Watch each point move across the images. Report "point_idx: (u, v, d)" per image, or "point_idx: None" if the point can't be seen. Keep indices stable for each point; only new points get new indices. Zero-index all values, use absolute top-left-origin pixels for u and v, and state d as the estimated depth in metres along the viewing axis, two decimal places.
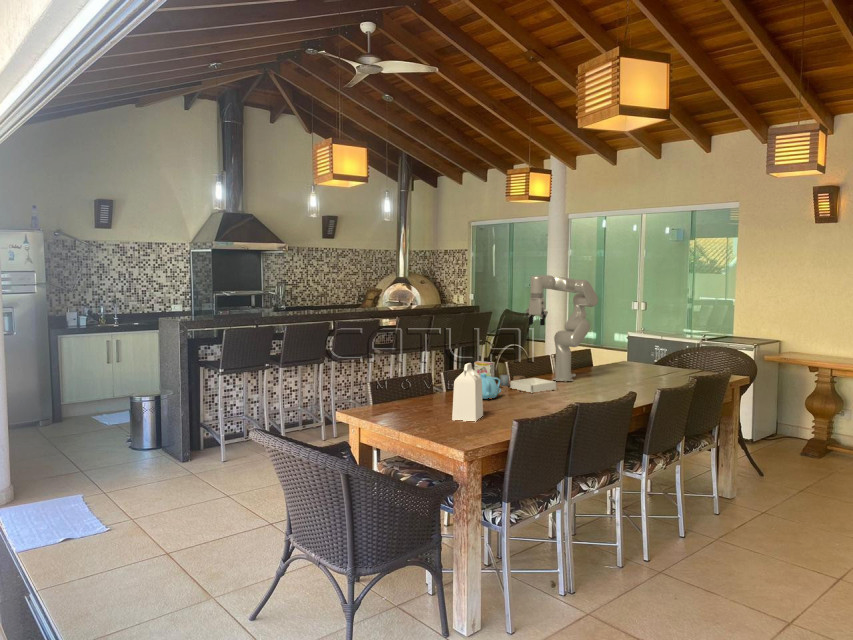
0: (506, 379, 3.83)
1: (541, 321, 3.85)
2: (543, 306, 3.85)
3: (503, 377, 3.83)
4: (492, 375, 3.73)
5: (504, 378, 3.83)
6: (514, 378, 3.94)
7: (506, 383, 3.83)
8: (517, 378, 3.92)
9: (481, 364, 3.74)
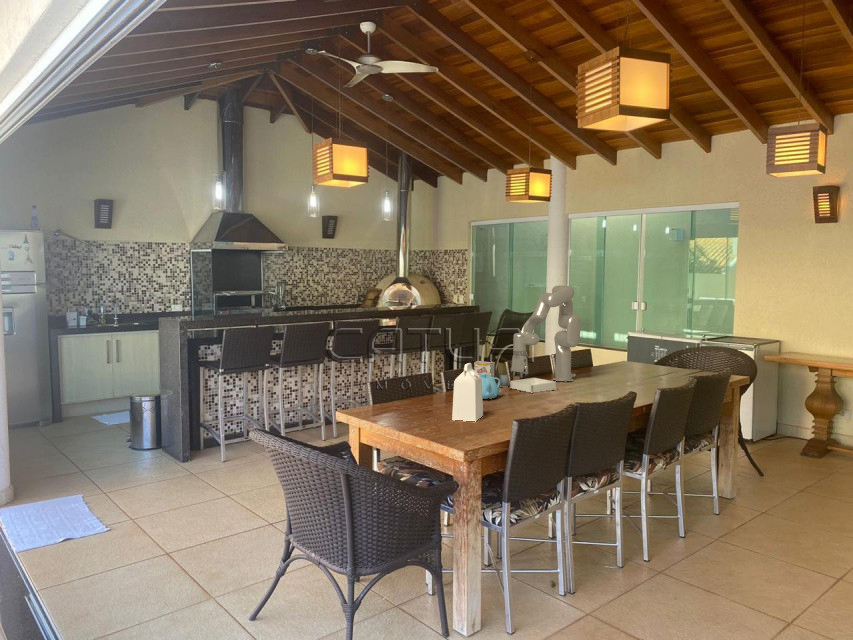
0: (506, 379, 3.83)
1: None
2: (525, 364, 3.89)
3: (503, 377, 3.83)
4: (492, 375, 3.73)
5: (504, 378, 3.83)
6: (514, 378, 3.94)
7: (506, 383, 3.83)
8: (517, 378, 3.92)
9: (481, 364, 3.74)
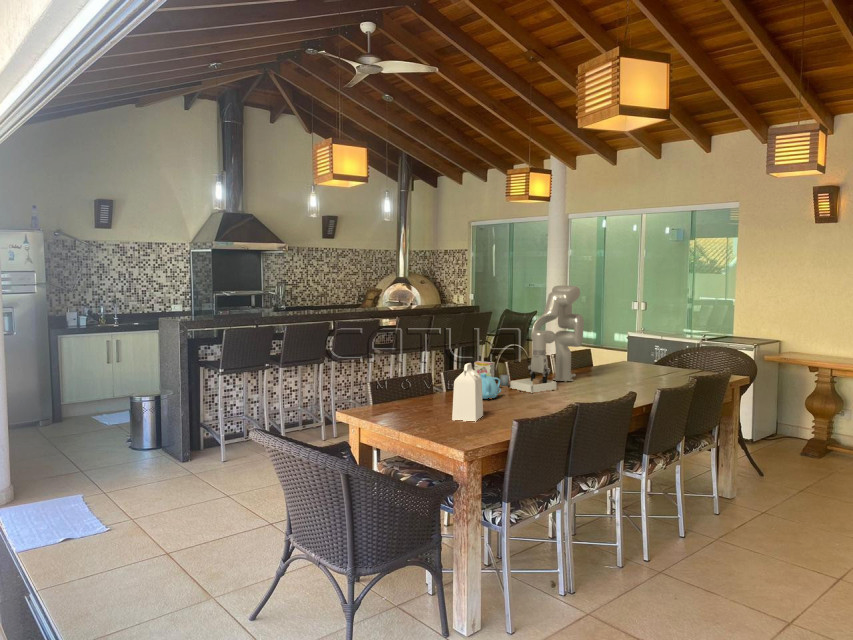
0: (506, 379, 3.83)
1: (543, 379, 3.73)
2: (546, 363, 3.74)
3: (503, 377, 3.83)
4: (492, 375, 3.73)
5: (504, 378, 3.83)
6: (533, 381, 3.78)
7: (506, 383, 3.83)
8: (536, 381, 3.76)
9: (481, 364, 3.74)
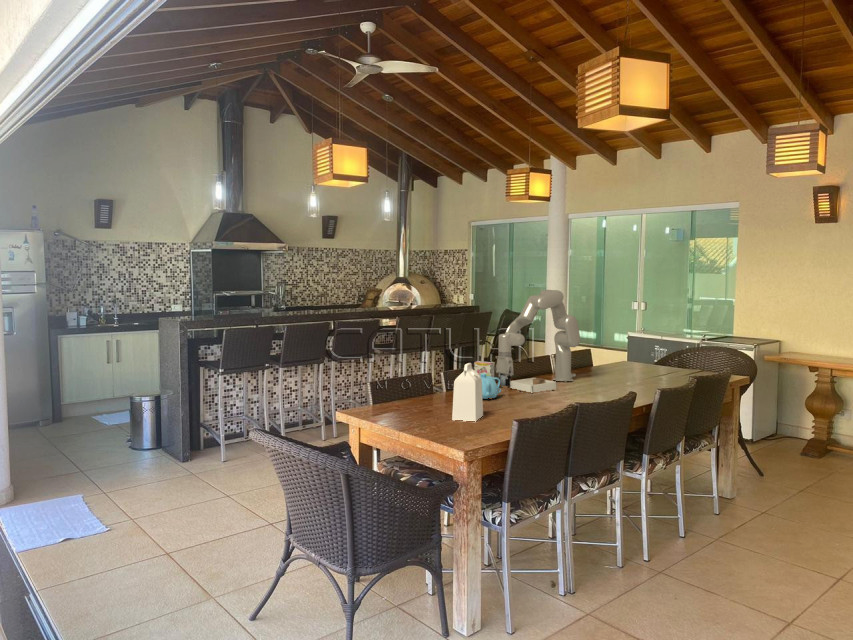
0: None
1: (506, 381, 3.82)
2: (511, 365, 3.81)
3: (503, 377, 3.83)
4: (492, 375, 3.73)
5: (504, 378, 3.83)
6: (533, 381, 3.78)
7: None
8: (536, 381, 3.76)
9: (481, 364, 3.74)
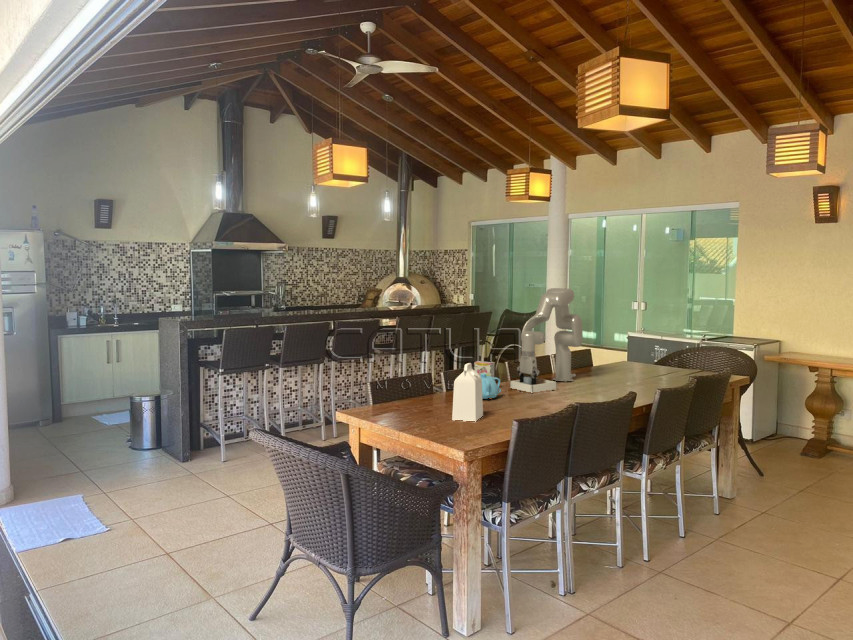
0: (530, 381, 3.71)
1: (532, 381, 3.68)
2: (534, 365, 3.69)
3: (526, 379, 3.71)
4: (492, 375, 3.73)
5: (527, 380, 3.71)
6: None
7: None
8: (536, 381, 3.76)
9: (481, 364, 3.74)
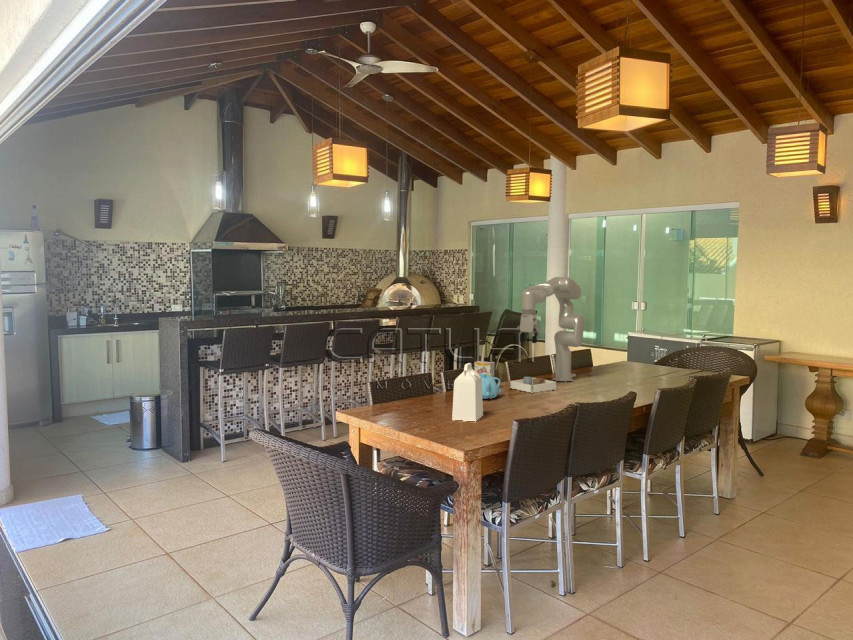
0: (530, 381, 3.71)
1: (533, 339, 3.66)
2: (535, 323, 3.67)
3: (526, 379, 3.71)
4: (492, 375, 3.73)
5: (527, 380, 3.70)
6: (533, 381, 3.78)
7: None
8: (536, 381, 3.76)
9: (481, 364, 3.74)
